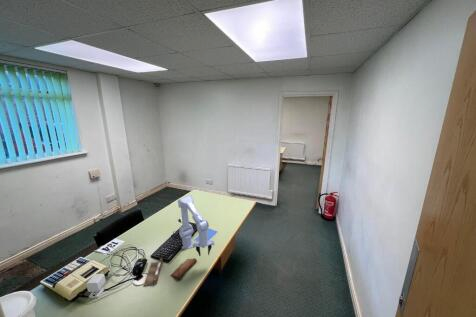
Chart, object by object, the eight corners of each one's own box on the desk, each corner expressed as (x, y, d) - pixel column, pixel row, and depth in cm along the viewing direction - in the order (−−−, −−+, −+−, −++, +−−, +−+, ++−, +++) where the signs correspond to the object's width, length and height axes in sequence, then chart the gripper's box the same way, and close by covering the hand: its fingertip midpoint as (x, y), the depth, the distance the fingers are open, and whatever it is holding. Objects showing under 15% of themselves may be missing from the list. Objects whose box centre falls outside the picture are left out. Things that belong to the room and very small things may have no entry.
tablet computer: (205, 245, 150) (204, 244, 150) (193, 240, 156) (193, 239, 156) (218, 232, 167) (218, 231, 166) (207, 228, 173) (207, 227, 172)
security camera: (107, 286, 115) (104, 273, 112) (99, 297, 108) (96, 284, 105) (96, 287, 114) (93, 274, 112) (88, 298, 108) (84, 284, 105)
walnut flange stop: (151, 263, 132) (150, 259, 131) (162, 262, 133) (162, 257, 132) (143, 286, 115) (142, 281, 114) (156, 284, 116) (155, 279, 115)
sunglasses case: (188, 257, 137) (191, 252, 134) (194, 264, 135) (197, 259, 132) (169, 276, 122) (172, 271, 119) (176, 284, 120) (179, 279, 117)
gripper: (191, 243, 119) (193, 260, 122) (214, 240, 122) (215, 257, 125) (192, 236, 126) (193, 252, 129) (213, 233, 128) (214, 250, 132)
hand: (204, 254), depth 128 cm, fingers open, 5 cm apart
